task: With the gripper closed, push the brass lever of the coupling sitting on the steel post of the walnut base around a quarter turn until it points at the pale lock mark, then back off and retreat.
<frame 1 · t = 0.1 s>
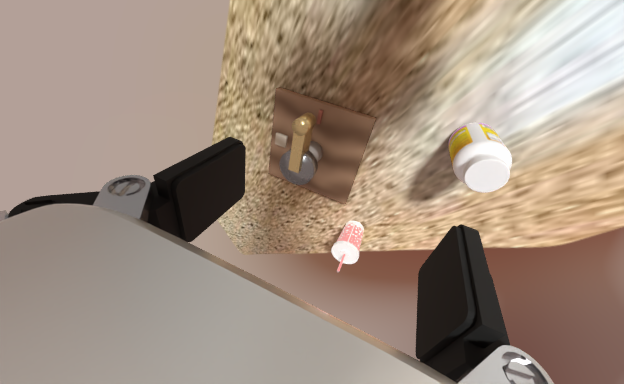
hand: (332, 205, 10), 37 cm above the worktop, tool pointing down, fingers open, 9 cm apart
coupling: (299, 152, 42), point 10 cm above the worktop, hinge at 0.0°
beverage cup: (354, 227, 59), on the worktop
post base: (315, 148, 51), on the worktop
supplement bottle: (470, 140, 40), on the worktop
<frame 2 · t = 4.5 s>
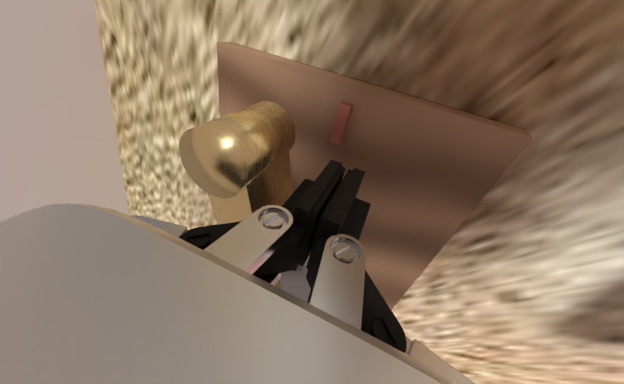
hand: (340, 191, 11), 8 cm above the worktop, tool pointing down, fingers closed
coupling: (263, 241, 12), point 10 cm above the worktop, hinge at 13.9°, touching gripper
post base: (324, 196, 22), on the worktop
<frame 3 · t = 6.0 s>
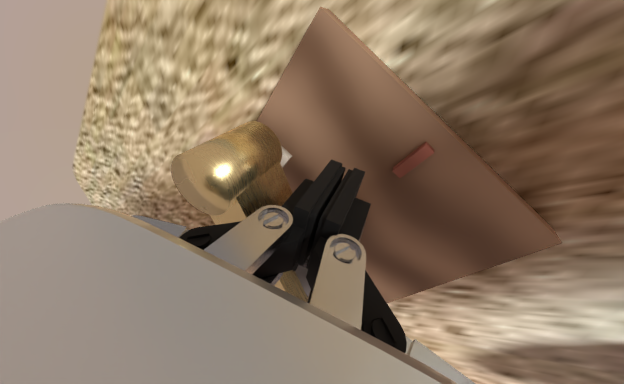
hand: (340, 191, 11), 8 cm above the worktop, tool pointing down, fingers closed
coupling: (279, 255, 12), point 10 cm above the worktop, hinge at 56.8°, touching gripper
post base: (344, 205, 21), on the worktop
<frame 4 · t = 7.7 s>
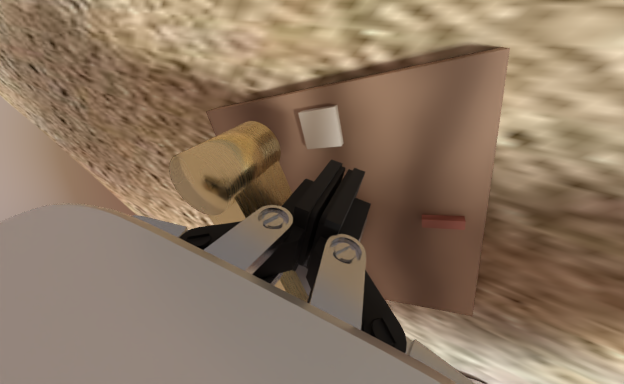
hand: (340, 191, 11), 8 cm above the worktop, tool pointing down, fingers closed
coupling: (279, 255, 12), point 10 cm above the worktop, hinge at 97.4°, touching gripper
post base: (345, 205, 21), on the worktop
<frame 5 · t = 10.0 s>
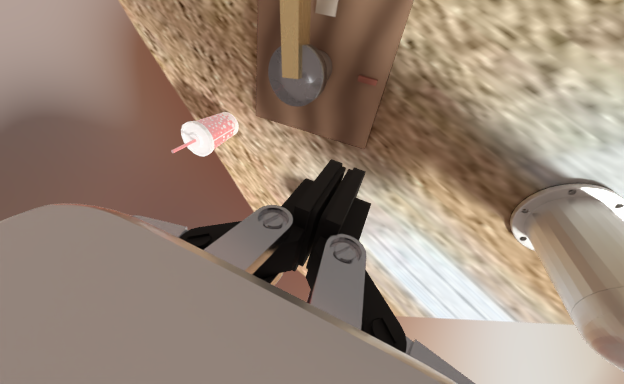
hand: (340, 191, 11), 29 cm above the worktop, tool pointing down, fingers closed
coupling: (295, 44, 26), point 10 cm above the worktop, hinge at 97.5°
beverage cup: (229, 123, 47), on the worktop
post base: (321, 66, 36), on the worktop
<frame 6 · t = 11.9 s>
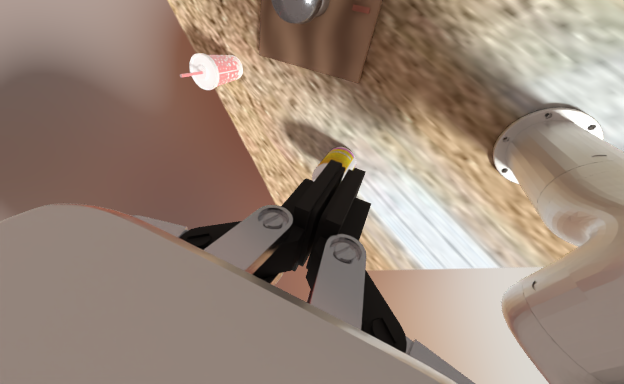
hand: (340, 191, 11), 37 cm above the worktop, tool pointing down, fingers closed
beverage cup: (234, 67, 51), on the worktop
post base: (319, 0, 39), on the worktop
supplement bottle: (342, 159, 52), on the worktop
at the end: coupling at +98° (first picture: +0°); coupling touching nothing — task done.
